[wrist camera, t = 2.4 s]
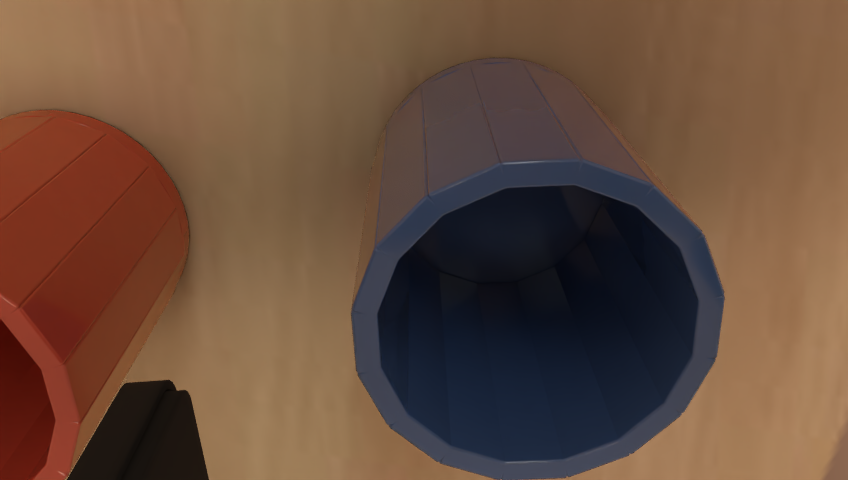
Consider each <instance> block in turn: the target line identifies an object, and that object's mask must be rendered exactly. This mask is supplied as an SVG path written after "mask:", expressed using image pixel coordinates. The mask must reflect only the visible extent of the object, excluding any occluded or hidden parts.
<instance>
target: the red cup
mask: <svg viewBox="0 0 848 480" xmlns="http://www.w3.org/2000/svg"><path fill="white" fill-rule="evenodd" d="M188 249H189V230H188V221H187V217H186V213H185V209H184V206H183V203H182V201H181V198H180V196H179V193H178V191H177V189H176V187H175V186H174V184H173V182H172V180H171V178H170V177H169V176H168V174H167V173H166V171H165V170H164V169H163V167H162V166H161V165H160V164H159V162H158V161H157V160H156V159H155V158H154V157H153V156H152V155H151V154H150V153H149V152H148V151H147V150H146V149H145V148H143V147H142V146H141V145H140V144H139V143H138V142H136V141H135V140H133V139H132V138H131V137H129V136H128V135H126V134H125V133H123V132H122V131H120V130H118V129H116V128H114V127H112V126H110V125H108V124H106V123H104V122H101V121H99V120H96V119H93V118H91V117H87V116H84V115H80V114H76V113H71V112H64V111H56V110H37V111H28V112H22V113H18V114H14V115H10V116H7V117H5V118H2V119H0V480H64V479H65V478H66V477H67V476H68V475H69V473H70V471H71V470H72V468H73V466H74V464H75V463H76V461H77V459H78V458H79V456H80V454H81V452H82V451H83V449H84V447H85V445H86V444H87V442H88V440H89V439H90V437H91V435H92V433H93V432H94V430H95V428H96V426H97V425H98V423H99V421H100V420H101V418H102V416H103V414H104V413H105V411H106V409H107V407H108V406H109V404H110V402H111V401H112V399H113V397H114V395H115V394H116V392H117V390H118V388H119V387H120V385H121V383H122V382H123V380H124V378H125V376H126V375H127V373H128V371H129V369H130V368H131V366H132V364H133V363H134V361H135V359H136V357H137V356H138V354H139V352H140V350H141V349H142V347H143V345H144V344H145V342H146V340H147V338H148V337H149V335H150V333H151V331H152V330H153V328H154V326H155V325H156V323H157V321H158V319H159V318H160V316H161V314H162V312H163V311H164V309H165V307H166V306H167V304H168V302H169V300H170V299H171V297H172V295H173V293H174V292H175V288H176V285H177V282H178V280H179V279H180V277H181V275H182V272H183V269H184V267H185V264H186V260H187V255H188Z"/></svg>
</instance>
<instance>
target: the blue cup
mask: <svg viewBox="0 0 848 480" xmlns="http://www.w3.org/2000/svg"><path fill="white" fill-rule="evenodd" d="M724 299H725V297H724V290H723V287H722V284H721V281H720V278H719V275H718V272H717V269H716V267H715V264H714V261H713V258H712V255H711V252H710V249H709V246H708V243H707V240H706V238H705V235H704V234H703V233H702V230H701V229H700V228H699V227H698V225H697V224H696V223H695V222H694V221H693V219H692V218H691V217H690V216H689V215H688V213H687V212H686V211H685V210H684V209H683V207H682V206H681V205H680V204H679V203H678V201H677V200H676V199H675V198H674V197H673V195H672V194H671V193H670V192H669V191H668V189H667V188H666V187H665V186H664V185H663V183H662V182H661V181H660V180H659V179H658V177H657V176H656V175H655V174H654V173H653V171H652V170H651V169H650V168H649V166H648V165H647V164H646V163H645V162H644V160H643V159H642V158H641V157H640V156H639V154H638V153H637V152H636V151H635V150H634V148H633V147H632V146H631V145H630V144H629V142H628V141H627V140H626V139H625V138H624V136H623V135H622V134H621V133H620V132H619V130H618V129H617V128H616V127H615V126H614V124H613V123H612V122H611V121H610V120H609V118H608V117H607V116H606V115H605V114H604V112H602V111H601V110H600V109H599V108H598V107H597V106H596V105H595V104H594V103H593V102H592V101H591V100H590V98H589V97H588V96H587V95H586V94H585V93H584V92H583V91H582V90H581V89H580V88H579V87H578V86H577V85H575V84H574V83H573V82H572V81H570V80H569V79H567V78H566V77H564V76H563V75H561V74H559V73H558V72H556V71H554V70H551V69H549V68H547V67H545V66H542V65H539V64H536V63H532V62H529V61H525V60H518V59H512V58H488V59H479V60H474V61H470V62H466V63H461V64H458V65H456V66H453V67H451V68H448V69H446V70H443V71H442V72H440V73H438V74H436V75H434V76H432V77H431V78H429V79H428V80H426V81H425V82H424V83H422V84H421V85H419V86H418V87H417V88H416V89H414V90H413V91H412V92H411V93H410V94H409V95H408V96H407V97H406V98H405V99H404V100H403V101H402V103H401V104H400V105H399V106H398V108H397V109H396V110H395V111H394V113H393V115H392V116H391V118H390V119H389V121H388V123H387V124H386V126H385V129H384V131H383V133H382V136H381V138H380V140H379V144H378V147H377V151H376V155H375V159H374V162H373V165H372V168H371V174H370V181H369V188H368V195H367V202H366V209H365V216H364V223H363V231H362V238H361V245H360V252H359V259H358V266H357V273H356V280H355V287H354V294H353V301H352V308H351V321H352V332H353V343H354V354H355V365H356V371H357V373H358V377H359V378H360V380H361V382H362V383H363V385H364V387H365V388H366V390H367V392H368V393H369V395H370V397H371V398H372V400H373V402H374V403H375V405H376V407H377V408H378V410H379V412H380V413H381V415H382V417H383V419H384V420H385V422H386V423H387V425H389V427H390V428H391V429H393V430H394V431H395V432H397V433H398V434H399V435H401V436H402V437H404V438H405V439H406V440H408V441H409V442H410V443H412V444H413V445H415V446H416V447H417V448H419V449H420V450H421V451H423V452H424V453H426V454H427V455H428V456H430V457H431V458H432V459H434V460H435V461H437V462H440V463H441V464H444V465H447V466H451V467H454V468H458V469H461V470H465V471H468V472H472V473H476V474H479V475H483V476H486V477H490V478H493V479H497V480H500V479H502V480H529V479H554V478H566V477H567V476H568V477H571V476H574V475H577V474H580V473H582V472H585V471H588V470H591V469H593V468H596V467H599V466H602V465H604V464H607V463H610V462H613V461H616V460H618V459H621V458H624V457H627V456H629V453H630V454H632V453H634V452H635V451H636V450H638V449H639V448H640V447H642V446H643V445H644V444H645V443H647V442H648V441H649V440H650V439H652V438H653V437H654V436H656V435H657V434H658V433H659V432H661V431H662V430H663V429H664V428H666V427H667V426H668V425H670V424H671V423H672V422H673V421H675V420H676V419H677V418H678V417H680V416H681V414H682V413H683V412H684V411H685V410H686V408H687V406H688V405H689V403H690V402H691V400H692V398H693V397H694V395H695V393H696V392H697V390H698V388H699V387H700V385H701V384H702V382H703V380H704V379H705V377H706V375H707V374H708V372H709V370H710V369H711V367H712V365H713V364H714V362H715V358H716V357H717V352H718V344H719V337H720V329H721V322H722V314H723V307H724Z"/></svg>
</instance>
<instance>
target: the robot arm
mask: <svg viewBox="0 0 848 480" xmlns="http://www.w3.org/2000/svg"><path fill="white" fill-rule="evenodd" d="M67 480H209V478H208V474H207V469H206V465H205V460H204V455H203V451H202V446H201V442H200V437H199V433H198V428H197V424H196V419H195V415H194V410H193V405H192V401H191V398H190V395H189V393H188V391H186V390H180V391H177V390H176V387H175V385H174V384H173V382H172V381H170V380H162V381H148V382H133V383H126V384H124V385H123V386H122V387H121V389H120V390H119V392H118V394H117V395H116V397H115V399H114V401H113V402H112V404H111V406H110V407H109V409H108V411H107V412H106V414H105V416H104V418H103V419H102V421H101V423H100V424H99V426H98V428H97V429H96V431H95V433H94V435H93V436H92V438H91V440H90V441H89V443H88V445H87V446H86V448H85V450H84V452H83V453H82V455H81V457H80V458H79V460H78V462H77V463H76V465H75V467H74V469H73V470H72V472H71V474H70V475H69V477H68V479H67Z"/></svg>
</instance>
